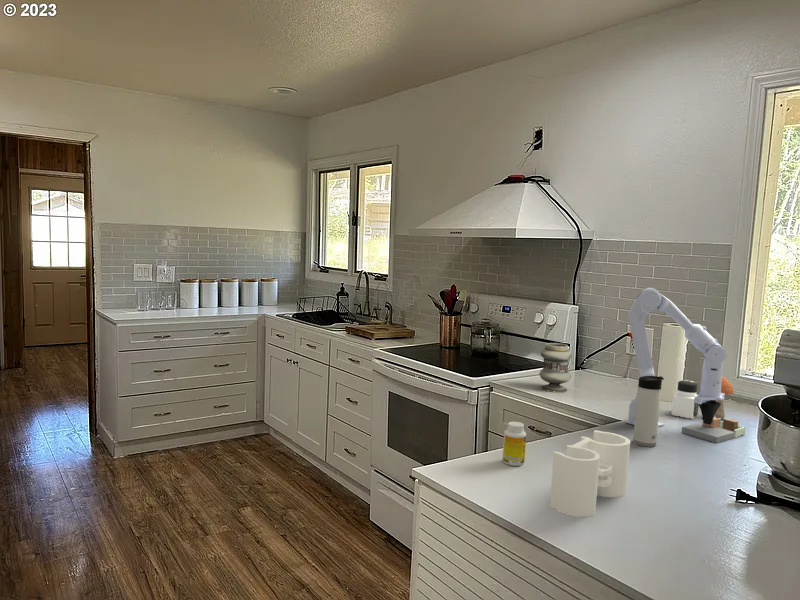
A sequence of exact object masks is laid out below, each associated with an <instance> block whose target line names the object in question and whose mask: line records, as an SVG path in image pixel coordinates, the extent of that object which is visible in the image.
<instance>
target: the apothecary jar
mask: <svg viewBox="0 0 800 600" xmlns="http://www.w3.org/2000/svg"><path fill="white" fill-rule="evenodd" d="M540 355H541V358H543V364H542V369H541V370H540V371H539V377H540V379H541V380H542V381H544V382H547V384H543V385H541V387H540V389H542V388H543V389H542V390H544V389H545V390H544V391H546V390H549V391H548V392H550V391H555V392H554V393H565V392H564V391H566V392H567V391H568V390H567V388H566V387H564V386H563V385H561V384H565V383H567V382H569V381H570V380H571V378H572V374H571V373H570V371H569V360H571V359H572V358H573V354H572V352H571V351H570V350H569V345H568V344H566V343H558V342H549V343H546V344H545V347H544V348H543V349H542V350H541V352H540Z"/></svg>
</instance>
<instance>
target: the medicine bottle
mask: <svg viewBox="0 0 800 600" xmlns="http://www.w3.org/2000/svg"><path fill="white" fill-rule="evenodd" d="M697 391H698V384H697V383H696V382H695V381H692V380H683V379H682V380H679V381H678V382H677V392H676V393H674V394H673V396H672V403H671V406H672V407H671V416H675V417H679V416H680V417H679V418H684V417H685V419H689V418H691V419H690V420H694V419H695V418H696V417H697V416H698V415H699V409H700V407H699V405H698V404H697V403H694V397H696V396H697V395H698V394H697Z"/></svg>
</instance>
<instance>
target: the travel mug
mask: <svg viewBox="0 0 800 600" xmlns="http://www.w3.org/2000/svg"><path fill="white" fill-rule="evenodd" d="M663 381H664V377H663V376H662V375H661V376H656V375H655V376H642V377H640V376H639V378H638V384H637V392H636V396H637V403H636V414H635V425H634V427H633V428H634V429H633V438H632V439H633V440H632V441H633V443H634V444H635V445H637V444H638V445H637V446H640V445H641V446H640V447H645V446H647V448H651V447H653V446H654V447H655V446H657V439H658V428H659V426H658V422H659V417H660V407H661V399H662V398H661V397H662V383H663ZM654 447H653V448H654Z"/></svg>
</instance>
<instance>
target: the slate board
mask: <svg viewBox="0 0 800 600" xmlns="http://www.w3.org/2000/svg"><path fill="white" fill-rule="evenodd" d="M681 433H682V434H684V433H685V434H686V435H688V436H691V437H695V438H699V439H702V440H704V441H705V440H706V441H708V440H709V442H711V441H712V443H714V444H715V443H716V444H718V442H719V443H722V442H725V441H724V440H726V441H728V440H727V439H729V440H732V439H731V438H733V439H735V438H734V437H735V434H736V432H734V431H730V430H726V429H723V428H719V427H714V428H713V427H709V426H706V425H703V423H701V422H697V423H692V424H689V425H685V426H682V427H681ZM721 441H722V442H721Z"/></svg>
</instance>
